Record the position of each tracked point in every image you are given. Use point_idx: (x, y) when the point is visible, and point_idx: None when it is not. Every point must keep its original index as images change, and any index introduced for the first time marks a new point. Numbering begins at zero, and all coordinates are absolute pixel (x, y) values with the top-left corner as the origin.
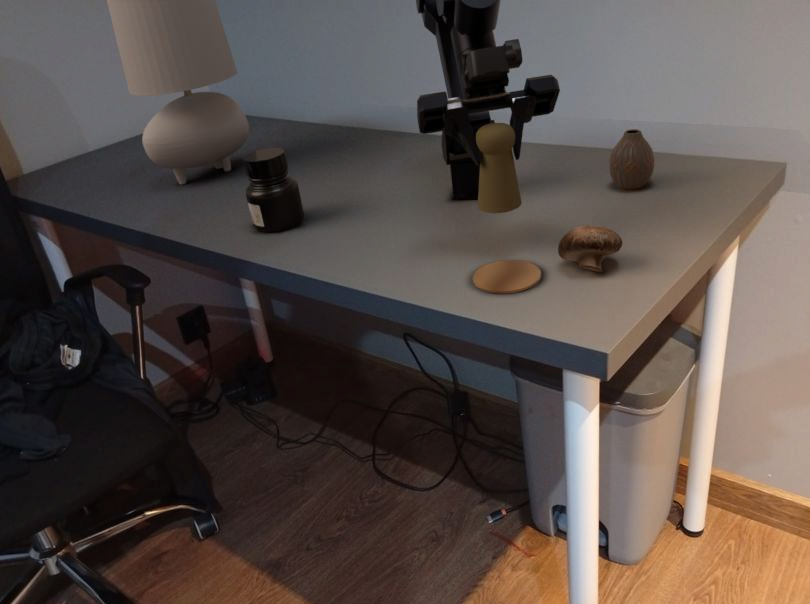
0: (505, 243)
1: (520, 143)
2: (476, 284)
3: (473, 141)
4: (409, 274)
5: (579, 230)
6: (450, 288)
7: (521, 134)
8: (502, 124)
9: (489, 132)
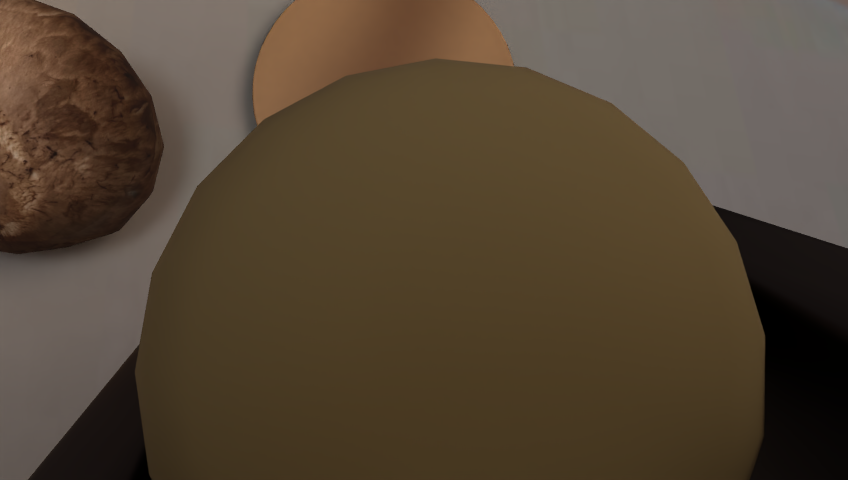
0: None
1: (128, 363)
2: (494, 24)
3: (752, 256)
4: (779, 157)
5: (8, 42)
6: (590, 30)
7: (61, 453)
8: (306, 383)
9: (528, 97)
